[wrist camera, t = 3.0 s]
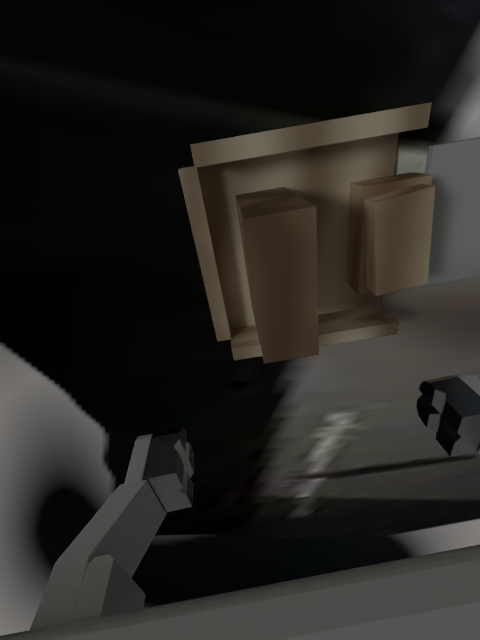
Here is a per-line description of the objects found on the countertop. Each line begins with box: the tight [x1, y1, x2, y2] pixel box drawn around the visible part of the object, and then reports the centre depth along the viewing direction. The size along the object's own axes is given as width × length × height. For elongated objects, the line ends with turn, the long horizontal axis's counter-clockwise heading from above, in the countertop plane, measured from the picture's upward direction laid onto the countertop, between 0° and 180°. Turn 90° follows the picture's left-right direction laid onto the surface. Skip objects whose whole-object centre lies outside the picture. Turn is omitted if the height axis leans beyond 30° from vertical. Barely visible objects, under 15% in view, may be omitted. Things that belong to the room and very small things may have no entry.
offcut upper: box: [364, 184, 435, 296], centre depth 21 cm, size 4×7×2 cm, turn 15°
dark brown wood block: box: [235, 187, 319, 363], centre depth 20 cm, size 4×9×8 cm, turn 9°
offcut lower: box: [346, 173, 433, 294], centre depth 22 cm, size 4×8×2 cm, turn 8°
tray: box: [178, 102, 432, 360], centre depth 22 cm, size 15×16×4 cm
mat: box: [411, 137, 480, 288], centre depth 23 cm, size 8×11×1 cm
